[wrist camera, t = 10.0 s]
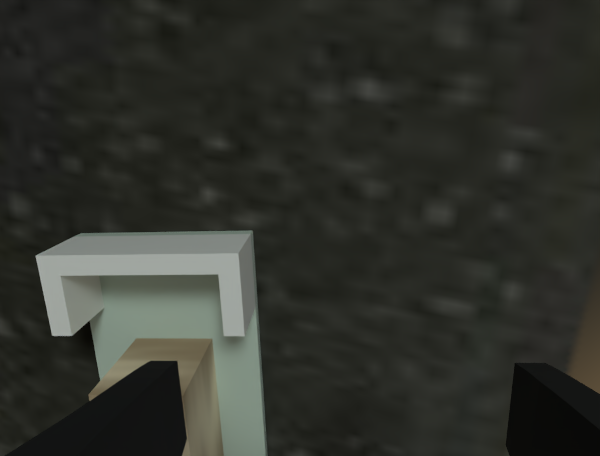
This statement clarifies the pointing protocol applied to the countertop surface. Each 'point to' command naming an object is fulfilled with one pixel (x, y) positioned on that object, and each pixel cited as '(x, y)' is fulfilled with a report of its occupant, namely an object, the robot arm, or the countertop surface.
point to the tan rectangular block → (193, 380)
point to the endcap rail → (168, 308)
